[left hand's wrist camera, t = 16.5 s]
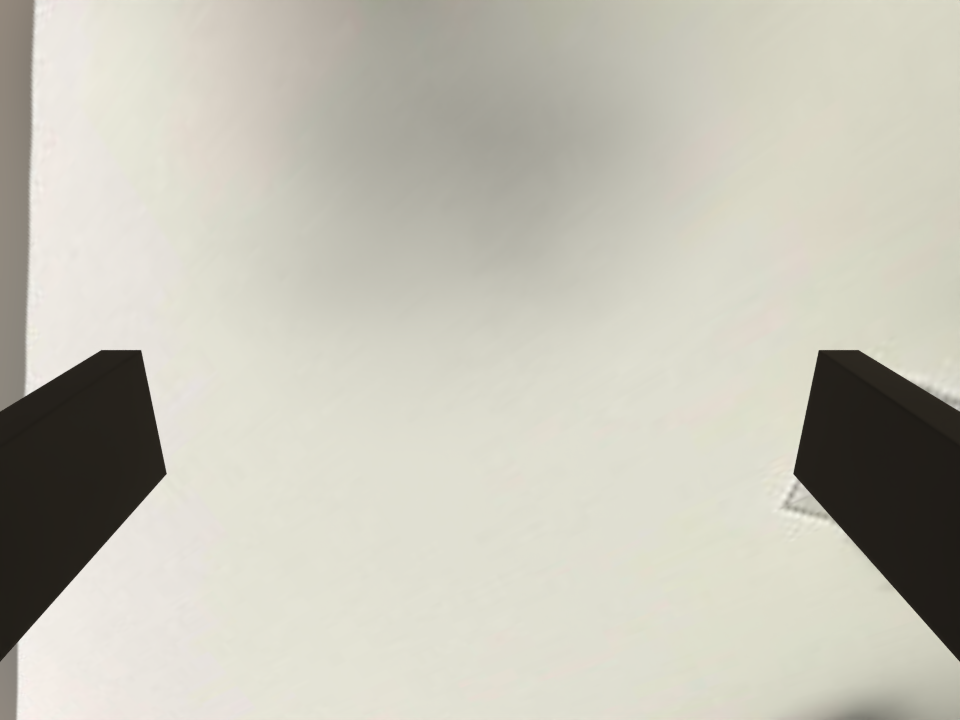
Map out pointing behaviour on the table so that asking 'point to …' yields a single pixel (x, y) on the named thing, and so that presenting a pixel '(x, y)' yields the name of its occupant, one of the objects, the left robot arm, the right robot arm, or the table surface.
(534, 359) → the table surface
